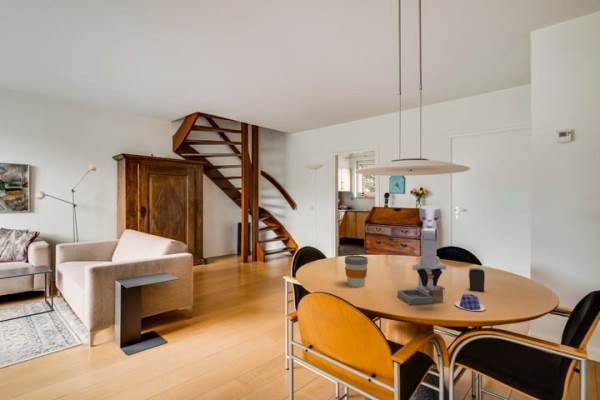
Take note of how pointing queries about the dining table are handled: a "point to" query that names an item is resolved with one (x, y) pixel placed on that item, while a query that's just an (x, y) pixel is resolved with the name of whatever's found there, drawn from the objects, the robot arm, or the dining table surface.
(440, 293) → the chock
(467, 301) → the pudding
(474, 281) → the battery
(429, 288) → the small red-capped bottle
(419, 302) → the tray
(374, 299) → the dining table surface
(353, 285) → the reusable coffee cup
